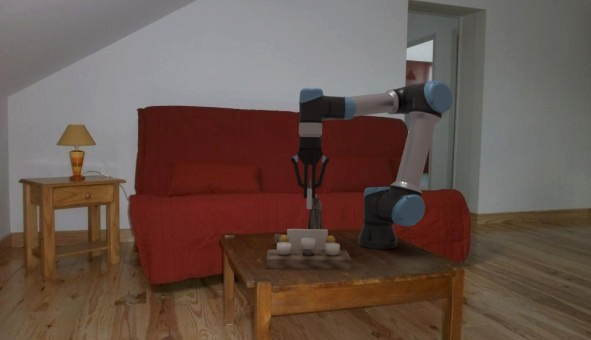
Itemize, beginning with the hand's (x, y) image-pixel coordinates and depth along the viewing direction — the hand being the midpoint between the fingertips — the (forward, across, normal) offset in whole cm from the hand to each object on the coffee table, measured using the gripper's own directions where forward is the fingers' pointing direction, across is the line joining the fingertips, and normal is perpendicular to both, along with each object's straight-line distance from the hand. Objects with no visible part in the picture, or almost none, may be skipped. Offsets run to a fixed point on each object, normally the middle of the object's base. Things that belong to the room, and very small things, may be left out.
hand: (309, 208), depth 140 cm
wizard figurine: (+19, -4, -37) cm, 42 cm away
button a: (+18, -8, 0) cm, 20 cm away
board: (+18, 0, 0) cm, 18 cm away
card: (+18, 0, -6) cm, 20 cm away
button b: (+16, 0, 0) cm, 16 cm away
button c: (+18, +8, 0) cm, 20 cm away
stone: (+19, +7, -22) cm, 30 cm away
